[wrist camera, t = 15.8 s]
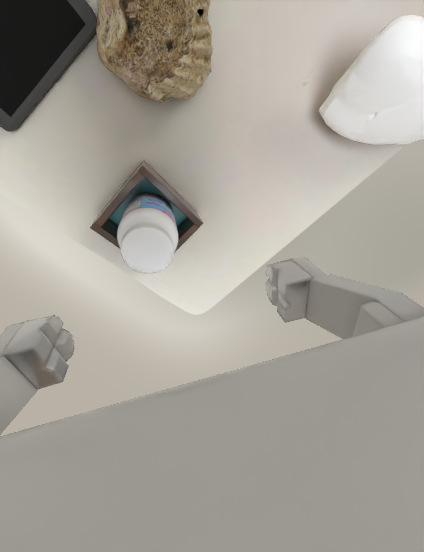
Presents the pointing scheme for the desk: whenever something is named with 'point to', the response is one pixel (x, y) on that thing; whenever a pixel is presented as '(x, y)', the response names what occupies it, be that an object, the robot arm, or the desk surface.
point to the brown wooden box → (142, 183)
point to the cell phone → (37, 50)
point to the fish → (382, 88)
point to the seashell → (156, 45)
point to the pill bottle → (148, 233)
